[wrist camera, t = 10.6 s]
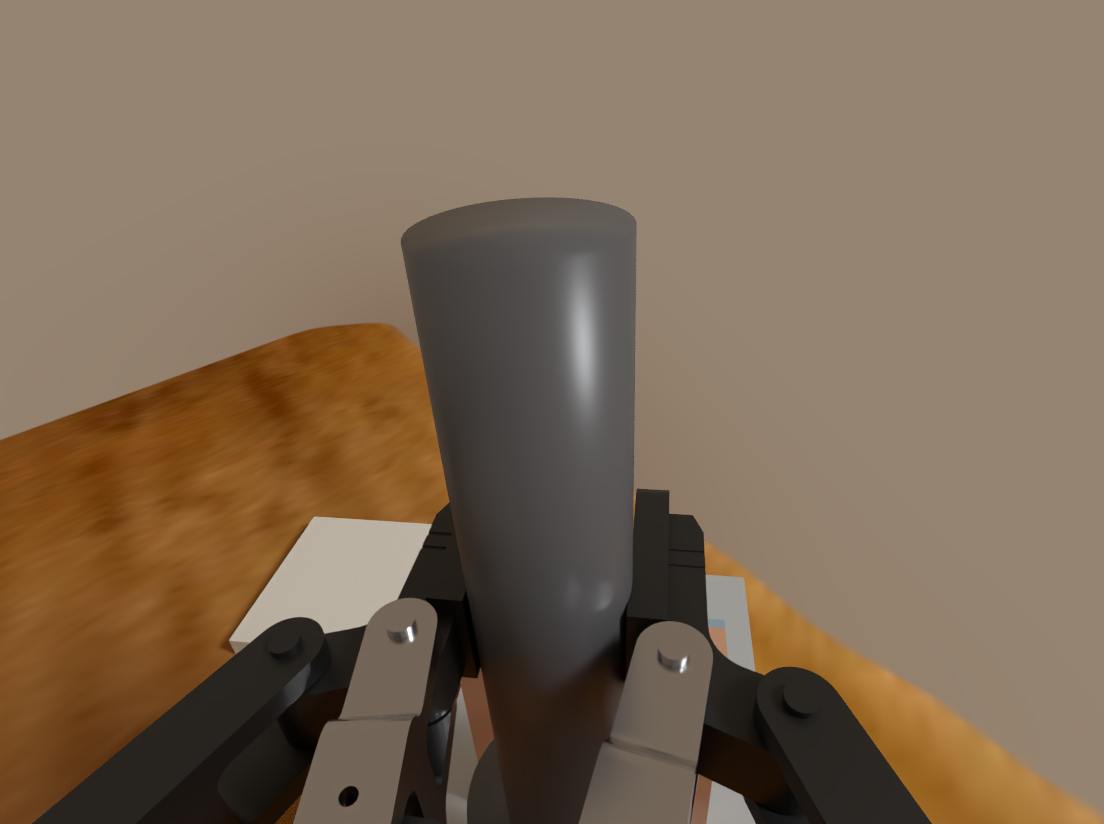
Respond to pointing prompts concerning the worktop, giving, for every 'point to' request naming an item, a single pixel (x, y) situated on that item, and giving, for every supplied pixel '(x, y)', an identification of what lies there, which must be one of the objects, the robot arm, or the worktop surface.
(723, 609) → the mat
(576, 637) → the grey pestle
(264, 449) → the worktop surface
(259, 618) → the board
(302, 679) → the robot arm
